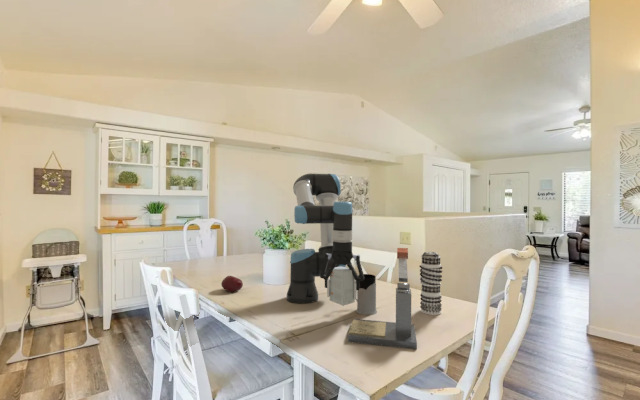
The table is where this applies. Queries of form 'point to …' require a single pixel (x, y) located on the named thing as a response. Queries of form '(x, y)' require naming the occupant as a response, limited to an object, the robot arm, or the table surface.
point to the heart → (232, 284)
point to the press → (388, 327)
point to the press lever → (402, 268)
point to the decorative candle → (430, 283)
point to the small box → (342, 286)
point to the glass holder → (367, 295)
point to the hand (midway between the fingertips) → (341, 297)
